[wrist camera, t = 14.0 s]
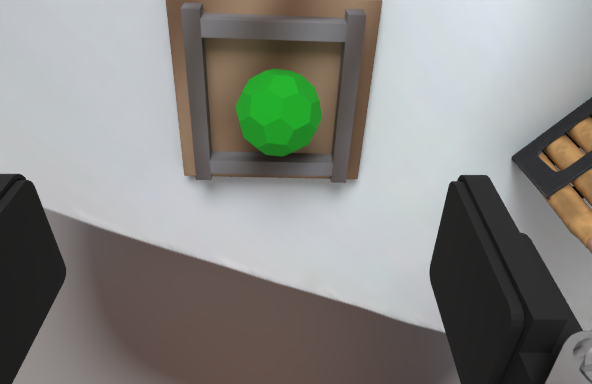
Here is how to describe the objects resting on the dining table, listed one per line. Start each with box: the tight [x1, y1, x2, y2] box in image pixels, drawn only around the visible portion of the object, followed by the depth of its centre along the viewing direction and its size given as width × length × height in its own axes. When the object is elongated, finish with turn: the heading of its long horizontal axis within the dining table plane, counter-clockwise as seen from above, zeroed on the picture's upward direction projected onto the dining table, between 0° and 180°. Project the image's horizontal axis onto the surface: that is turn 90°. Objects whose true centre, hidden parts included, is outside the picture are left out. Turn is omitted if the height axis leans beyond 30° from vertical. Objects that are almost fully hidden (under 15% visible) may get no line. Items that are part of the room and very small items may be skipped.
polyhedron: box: [235, 69, 322, 157], centre depth 29 cm, size 5×5×5 cm
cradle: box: [166, 0, 382, 183], centre depth 30 cm, size 12×12×2 cm
